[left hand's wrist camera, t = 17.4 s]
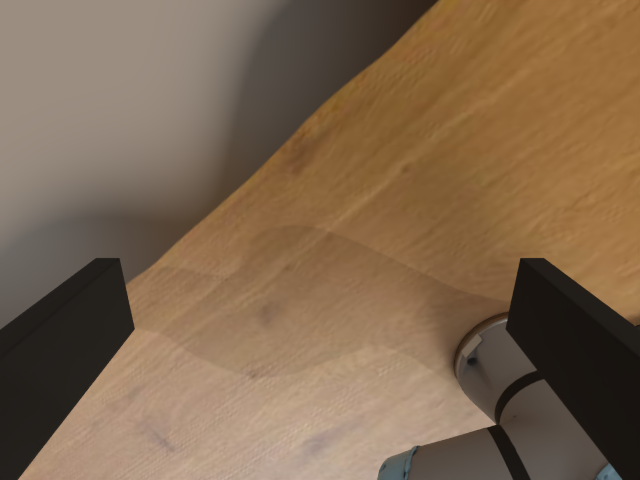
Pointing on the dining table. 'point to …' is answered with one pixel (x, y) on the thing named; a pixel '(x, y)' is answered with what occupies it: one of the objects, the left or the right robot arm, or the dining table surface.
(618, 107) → the dining table surface
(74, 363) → the left robot arm
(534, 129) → the dining table surface
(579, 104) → the dining table surface
